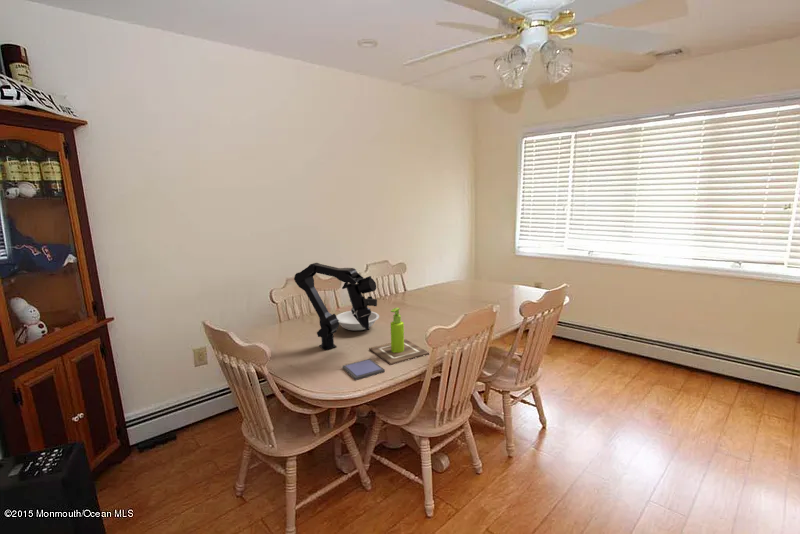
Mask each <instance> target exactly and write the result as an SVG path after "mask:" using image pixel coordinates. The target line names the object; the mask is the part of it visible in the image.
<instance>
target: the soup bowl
mask: <svg viewBox="0 0 800 534" xmlns="http://www.w3.org/2000/svg"><path fill="white" fill-rule="evenodd" d="M335 315H336V317H337V319H338V320H339V321H338V322H339V326H341V327H342V328H343V329H346V330H348V331H363V330H366V329H365V327H364V328H363V327H362V326H361V324H360V323H359V322H358V321H357V319H356V318H355V317H354V316H353V314H352V312H351V310H347V311H344V312H340V313H338V314H335ZM379 319H380V314H379V313H377V312H375V311H372V310H371V315H370V316H369V318H368V320H369V328H371V327H372V326H373V325H374V324H375V323H376V321H377V320H379Z"/></svg>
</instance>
